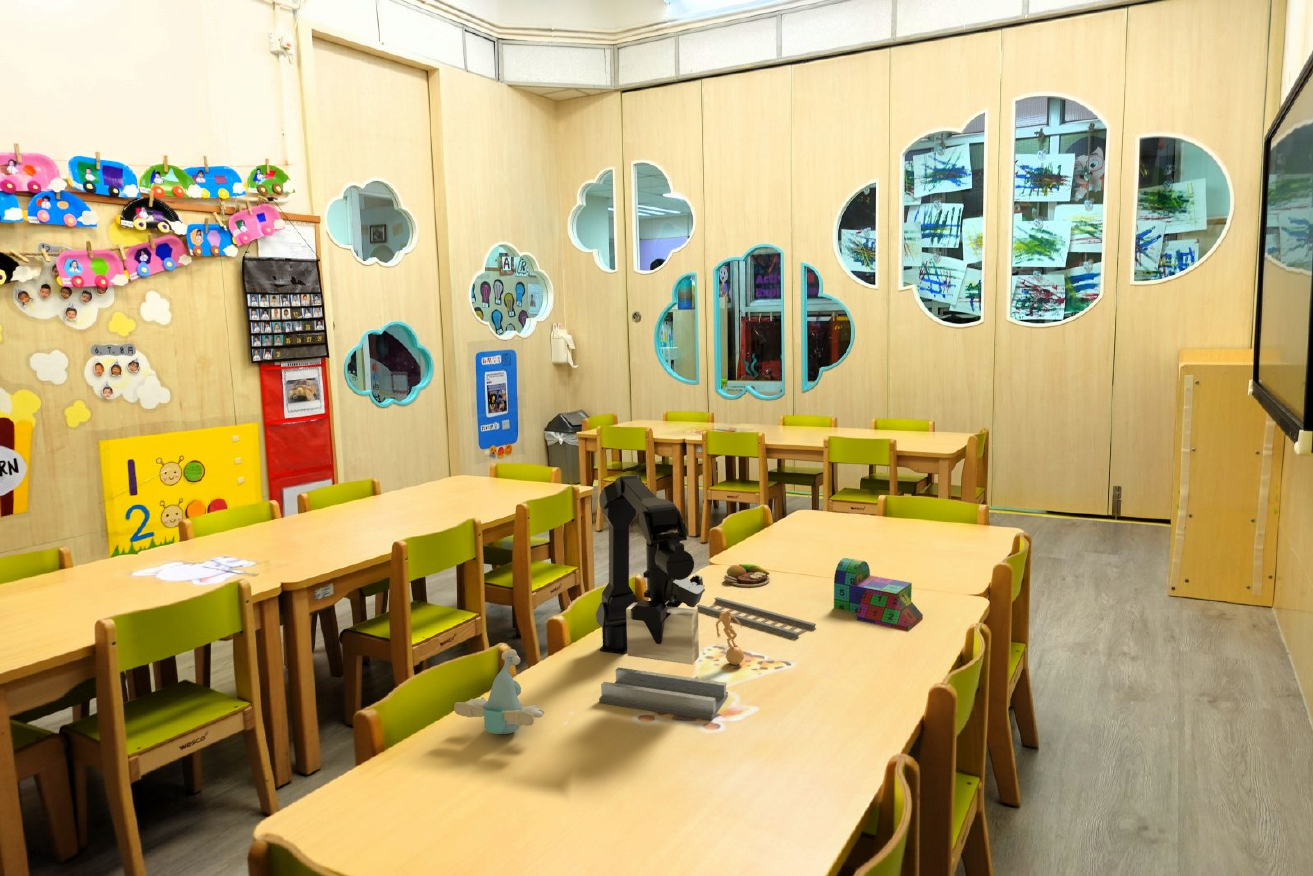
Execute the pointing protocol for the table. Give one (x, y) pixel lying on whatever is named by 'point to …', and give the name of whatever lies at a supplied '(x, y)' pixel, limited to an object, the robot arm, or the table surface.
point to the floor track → (665, 693)
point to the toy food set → (747, 575)
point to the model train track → (762, 613)
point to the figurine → (730, 638)
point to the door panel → (666, 637)
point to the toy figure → (501, 703)
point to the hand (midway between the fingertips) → (662, 639)
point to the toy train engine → (874, 596)
